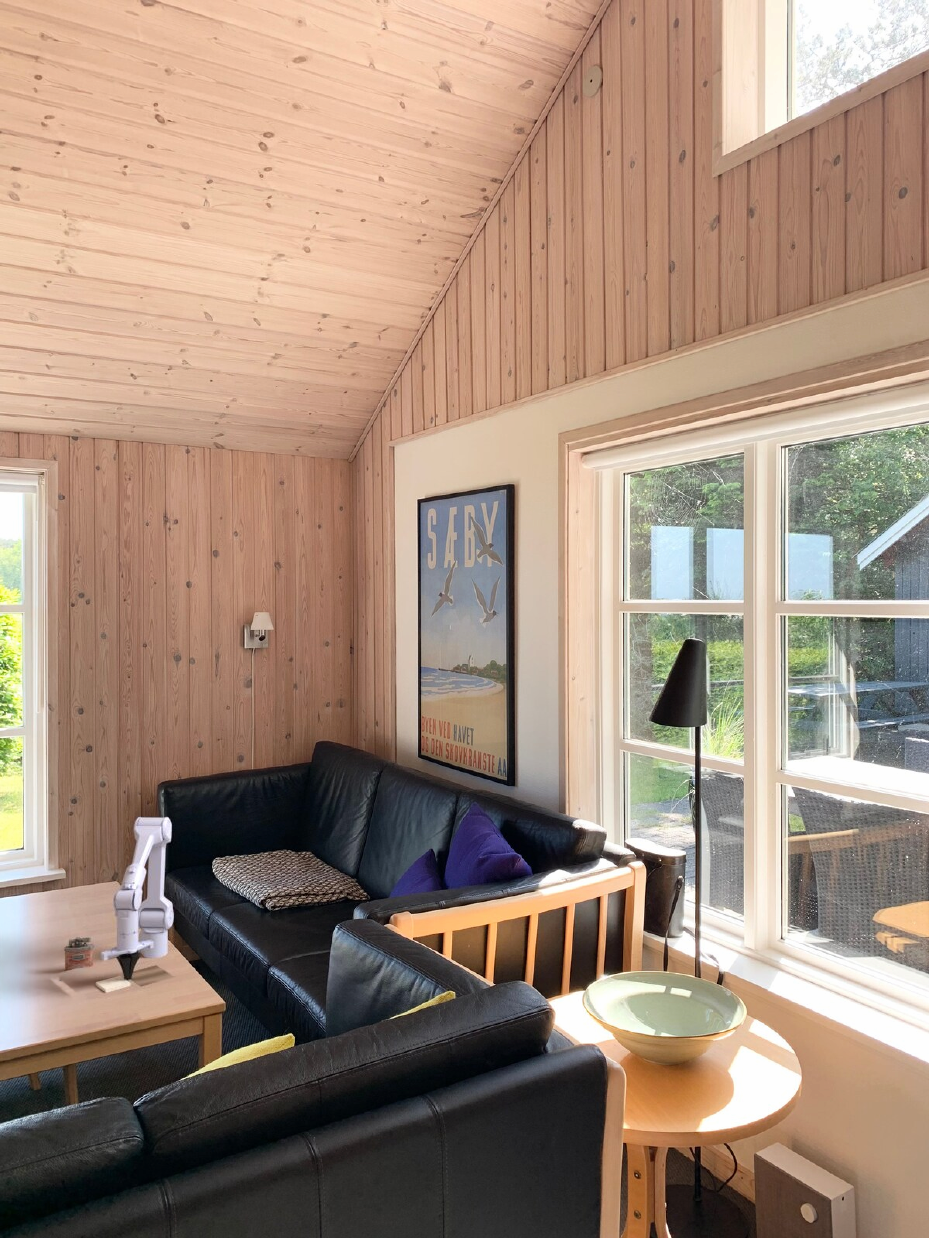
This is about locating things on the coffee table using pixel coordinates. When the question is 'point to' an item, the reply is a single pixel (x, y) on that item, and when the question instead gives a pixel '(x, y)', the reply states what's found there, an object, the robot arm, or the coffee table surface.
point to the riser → (150, 975)
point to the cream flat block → (112, 984)
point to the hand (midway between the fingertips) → (127, 978)
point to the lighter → (78, 953)
